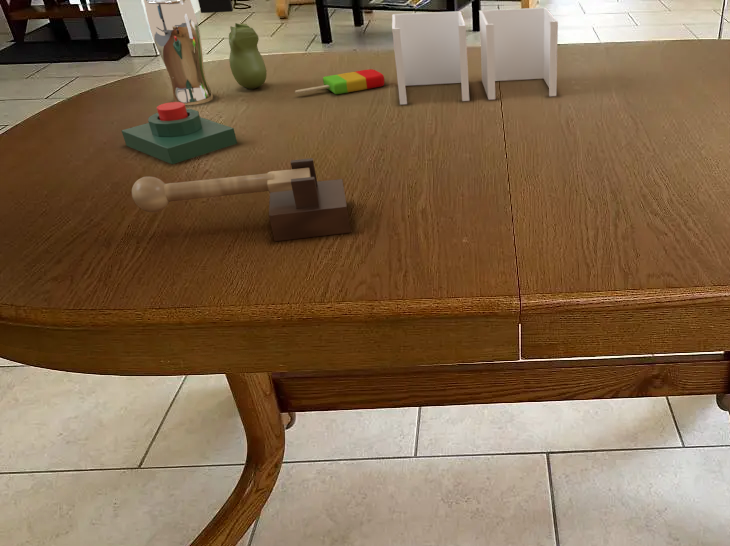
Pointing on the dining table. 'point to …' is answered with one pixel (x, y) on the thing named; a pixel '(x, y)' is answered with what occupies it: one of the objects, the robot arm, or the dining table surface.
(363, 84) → the popsicle
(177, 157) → the button box
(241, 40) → the pear
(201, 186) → the wooden rod
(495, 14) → the twin white cubbies
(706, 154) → the dining table surface
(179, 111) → the button
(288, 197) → the holder
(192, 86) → the beer glass
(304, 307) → the dining table surface
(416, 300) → the dining table surface
